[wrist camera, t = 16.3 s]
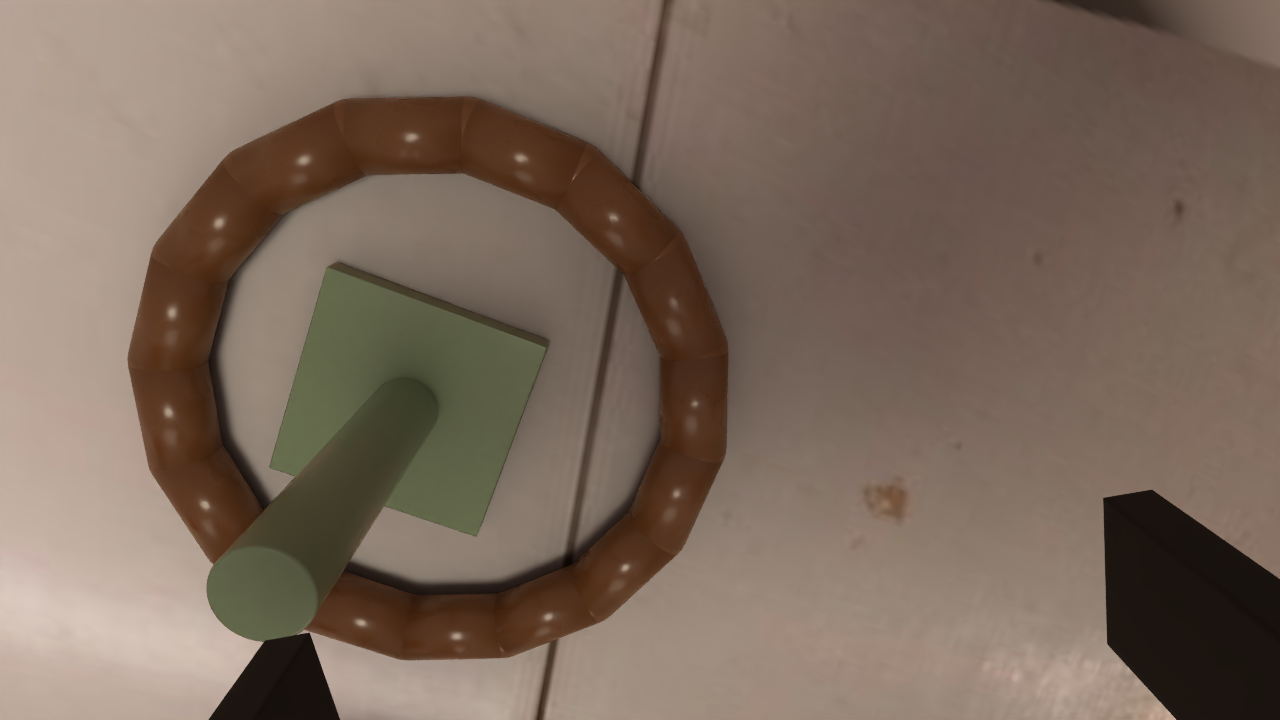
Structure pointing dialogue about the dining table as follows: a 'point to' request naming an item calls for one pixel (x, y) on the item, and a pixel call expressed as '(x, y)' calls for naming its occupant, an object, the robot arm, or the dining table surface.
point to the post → (375, 441)
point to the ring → (510, 159)
